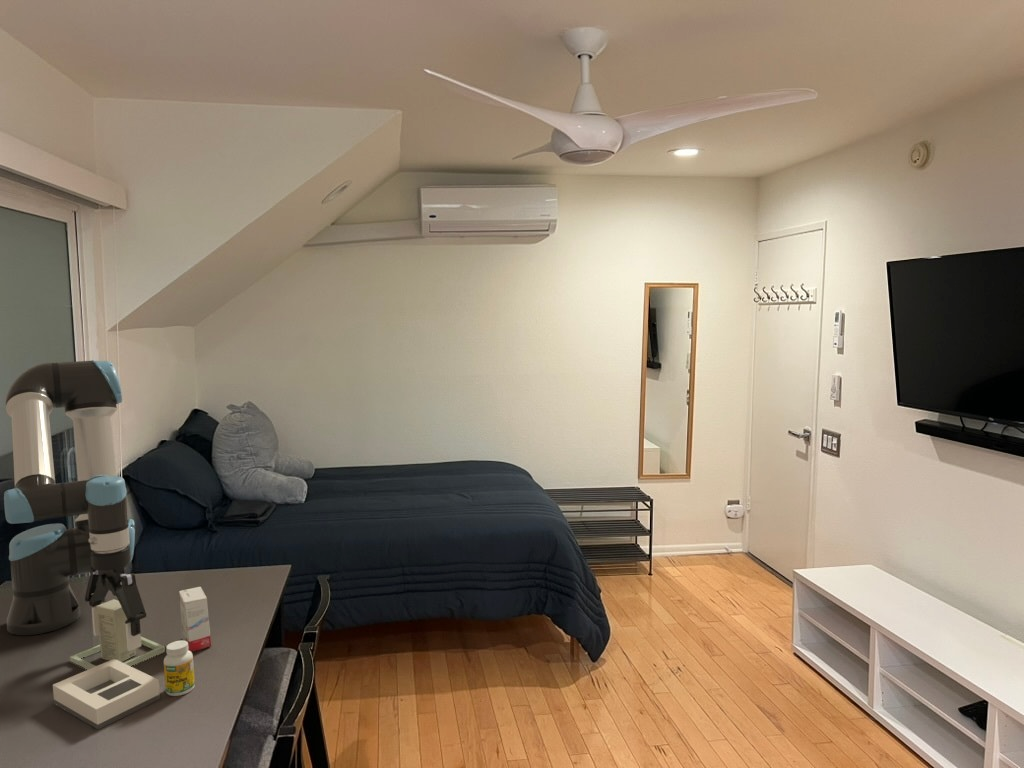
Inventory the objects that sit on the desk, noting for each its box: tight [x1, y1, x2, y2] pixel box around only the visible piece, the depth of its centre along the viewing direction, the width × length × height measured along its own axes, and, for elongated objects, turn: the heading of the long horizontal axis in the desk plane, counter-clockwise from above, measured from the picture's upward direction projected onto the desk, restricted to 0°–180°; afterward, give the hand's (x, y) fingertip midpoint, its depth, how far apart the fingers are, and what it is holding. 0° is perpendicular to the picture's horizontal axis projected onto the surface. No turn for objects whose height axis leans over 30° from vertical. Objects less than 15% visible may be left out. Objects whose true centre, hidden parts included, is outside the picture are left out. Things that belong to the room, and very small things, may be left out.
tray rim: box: [69, 636, 166, 670], centre depth 158 cm, size 14×14×1 cm
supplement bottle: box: [163, 639, 196, 697], centre depth 144 cm, size 5×5×10 cm
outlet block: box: [52, 659, 161, 731], centre depth 140 cm, size 16×12×4 cm
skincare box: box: [96, 598, 137, 663], centre depth 157 cm, size 6×4×12 cm
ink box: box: [178, 586, 212, 653], centre depth 163 cm, size 9×5×12 cm, turn 33°
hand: (117, 640), depth 157 cm, fingers open, 13 cm apart
